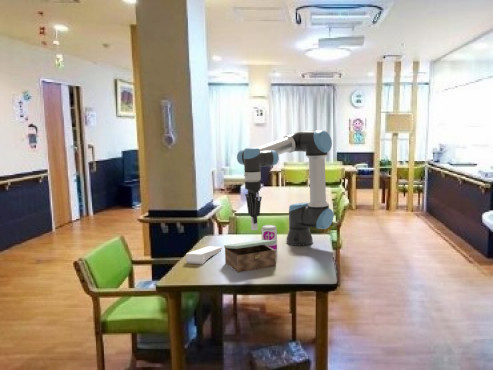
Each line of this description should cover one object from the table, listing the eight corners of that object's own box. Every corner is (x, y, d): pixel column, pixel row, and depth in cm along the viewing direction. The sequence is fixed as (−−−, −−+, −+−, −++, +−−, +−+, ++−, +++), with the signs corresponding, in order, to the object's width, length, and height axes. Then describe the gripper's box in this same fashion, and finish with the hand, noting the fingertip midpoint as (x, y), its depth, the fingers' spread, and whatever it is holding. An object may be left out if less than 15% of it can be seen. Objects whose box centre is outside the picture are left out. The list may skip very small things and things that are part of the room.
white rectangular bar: (208, 259, 245) (186, 268, 219) (205, 246, 246) (183, 254, 219) (224, 256, 242) (204, 264, 216) (222, 243, 243) (200, 250, 216)
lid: (261, 242, 225) (261, 240, 225) (276, 242, 210) (275, 240, 210) (224, 247, 217) (224, 245, 217) (236, 248, 202) (236, 246, 202)
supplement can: (276, 256, 228) (275, 228, 226) (260, 255, 230) (260, 227, 228) (278, 252, 236) (277, 224, 234) (263, 251, 237) (262, 224, 235)
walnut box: (261, 257, 226) (260, 242, 225) (276, 266, 211) (276, 250, 210) (225, 263, 218) (224, 247, 217) (238, 273, 203) (238, 256, 202)
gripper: (239, 180, 209) (241, 228, 212) (251, 182, 198) (253, 233, 201) (253, 178, 212) (255, 226, 216) (266, 181, 201) (267, 231, 204)
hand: (254, 229), depth 208 cm, fingers closed
